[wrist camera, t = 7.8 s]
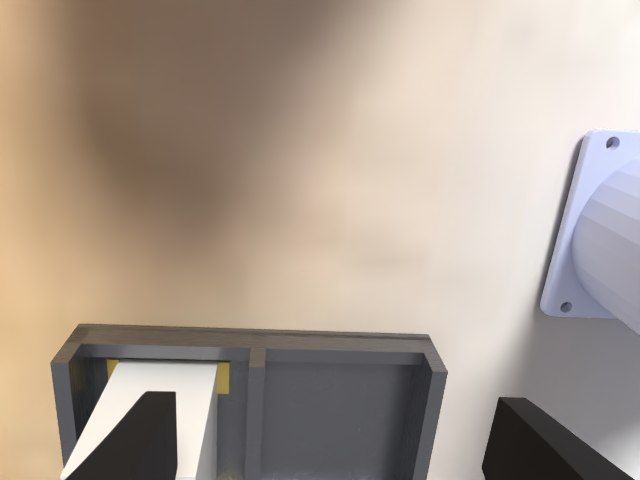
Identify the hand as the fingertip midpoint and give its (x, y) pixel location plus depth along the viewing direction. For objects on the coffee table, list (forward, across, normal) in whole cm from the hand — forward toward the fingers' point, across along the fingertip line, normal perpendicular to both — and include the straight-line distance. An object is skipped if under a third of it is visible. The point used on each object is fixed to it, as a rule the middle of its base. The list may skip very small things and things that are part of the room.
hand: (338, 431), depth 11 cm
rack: (+10, +2, +9) cm, 14 cm away
